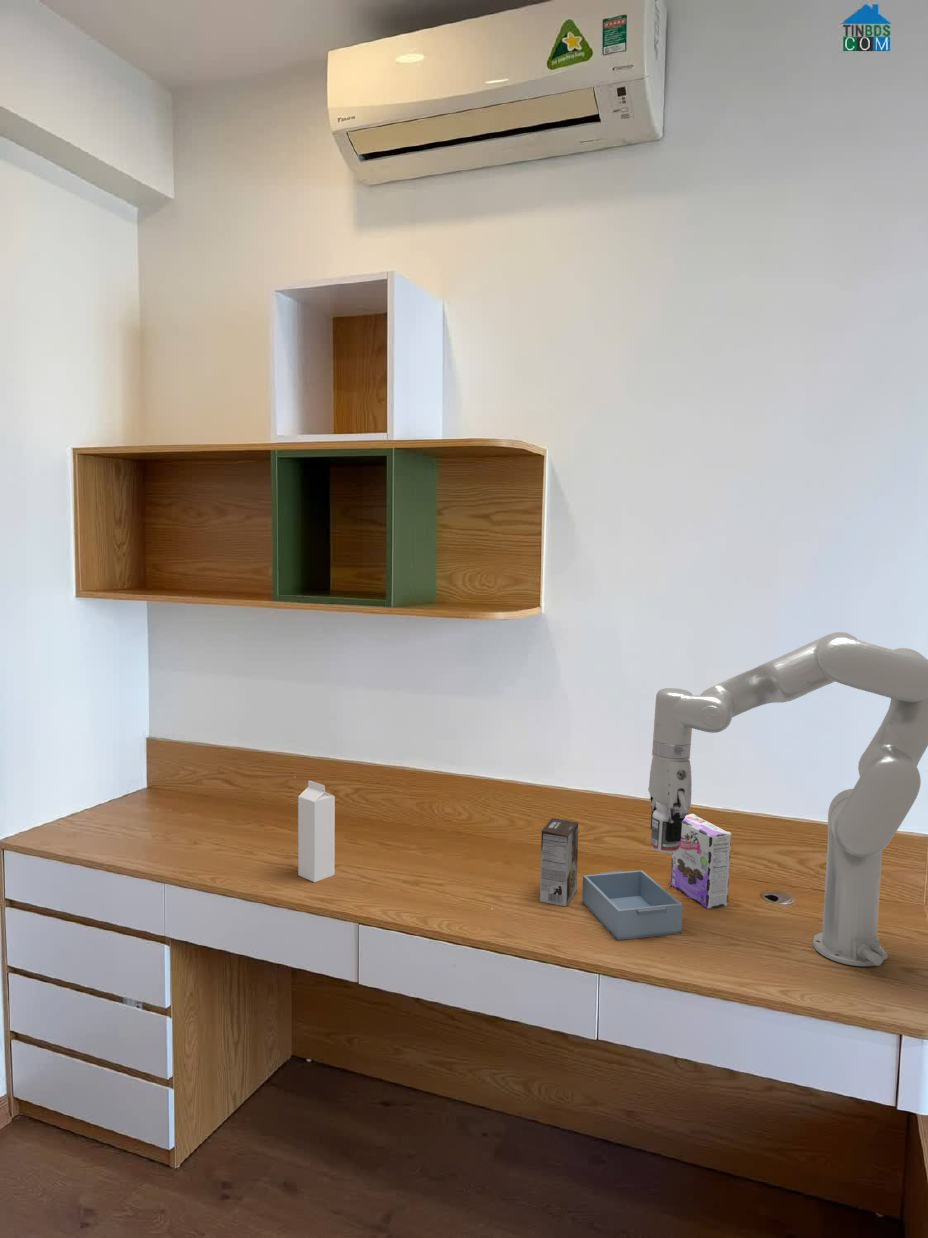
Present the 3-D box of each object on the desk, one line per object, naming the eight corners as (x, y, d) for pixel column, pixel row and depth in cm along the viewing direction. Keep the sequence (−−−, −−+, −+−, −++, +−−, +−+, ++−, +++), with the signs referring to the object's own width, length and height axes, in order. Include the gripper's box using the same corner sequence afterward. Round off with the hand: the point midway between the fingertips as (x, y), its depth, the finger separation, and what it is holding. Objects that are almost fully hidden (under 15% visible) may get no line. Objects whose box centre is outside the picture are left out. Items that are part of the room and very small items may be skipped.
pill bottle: (682, 848, 175) (685, 801, 174) (674, 856, 170) (677, 808, 169) (655, 841, 178) (658, 796, 177) (646, 849, 173) (649, 802, 172)
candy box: (669, 885, 194) (672, 815, 192) (690, 881, 196) (693, 812, 194) (706, 909, 181) (709, 835, 179) (729, 906, 183) (732, 832, 181)
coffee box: (549, 886, 192) (551, 817, 190) (577, 891, 189) (579, 821, 188) (538, 902, 183) (540, 830, 182) (567, 907, 181) (569, 834, 179)
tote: (683, 935, 169) (685, 906, 168) (619, 942, 165) (620, 913, 165) (639, 894, 188) (640, 868, 187) (580, 900, 184) (581, 874, 184)
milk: (314, 883, 192) (314, 788, 189) (297, 875, 195) (297, 783, 193) (335, 875, 196) (335, 782, 194) (318, 868, 200) (318, 777, 198)
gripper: (709, 760, 164) (703, 850, 166) (667, 738, 181) (662, 820, 183) (675, 761, 163) (668, 852, 164) (635, 739, 179) (630, 822, 181)
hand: (665, 834), depth 174 cm, fingers closed on pill bottle, 5 cm apart
